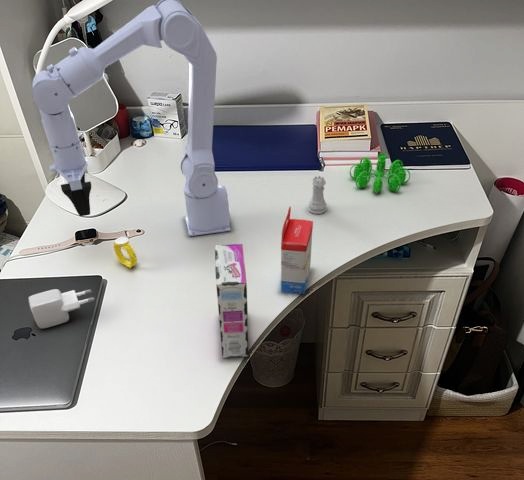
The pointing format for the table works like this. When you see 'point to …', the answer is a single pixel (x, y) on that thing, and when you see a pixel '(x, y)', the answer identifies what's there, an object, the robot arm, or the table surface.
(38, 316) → the power adapter
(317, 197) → the rook chess piece
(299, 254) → the ink box
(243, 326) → the candy bar box
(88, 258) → the table surface
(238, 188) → the table surface
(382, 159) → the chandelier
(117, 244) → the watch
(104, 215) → the table surface
